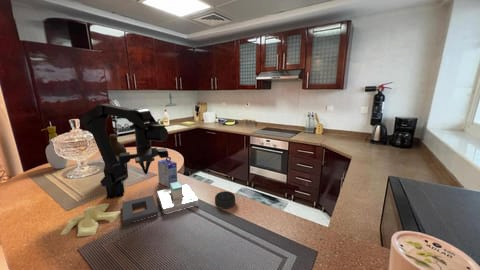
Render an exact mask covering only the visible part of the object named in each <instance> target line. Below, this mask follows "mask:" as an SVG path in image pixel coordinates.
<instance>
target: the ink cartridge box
mask: <svg viewBox="0 0 480 270" xmlns="http://www.w3.org/2000/svg"><path fill="white" fill-rule="evenodd" d="M171 159H172V157H170V156H168V157H166V158H165V159H162V160H158V161H157V174H158V183H159V184H161V185H163V186H164V187H167V188H170V183H174V182H178V166H177V162H175V161H173V160H171Z"/></svg>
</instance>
